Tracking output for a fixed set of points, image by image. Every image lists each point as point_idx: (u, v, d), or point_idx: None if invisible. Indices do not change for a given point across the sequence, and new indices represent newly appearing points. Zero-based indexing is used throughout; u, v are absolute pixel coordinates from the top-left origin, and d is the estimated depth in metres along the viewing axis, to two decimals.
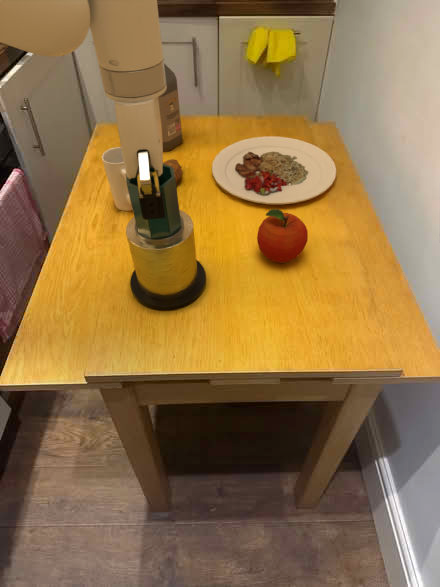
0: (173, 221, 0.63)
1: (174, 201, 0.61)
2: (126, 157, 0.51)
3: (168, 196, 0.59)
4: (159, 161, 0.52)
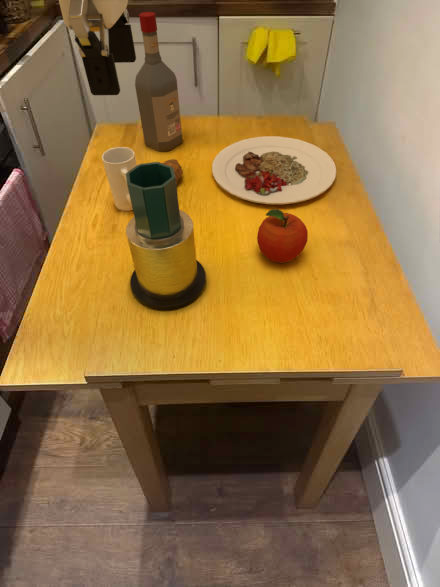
0: (173, 221, 0.63)
1: (174, 201, 0.61)
2: None
3: (168, 196, 0.59)
4: (104, 0, 0.39)
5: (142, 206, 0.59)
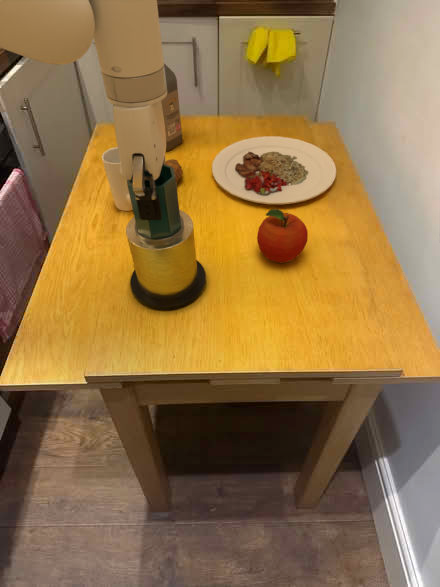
0: (173, 221, 0.63)
1: (174, 201, 0.61)
2: (122, 160, 0.52)
3: (168, 196, 0.59)
4: (154, 165, 0.53)
5: None
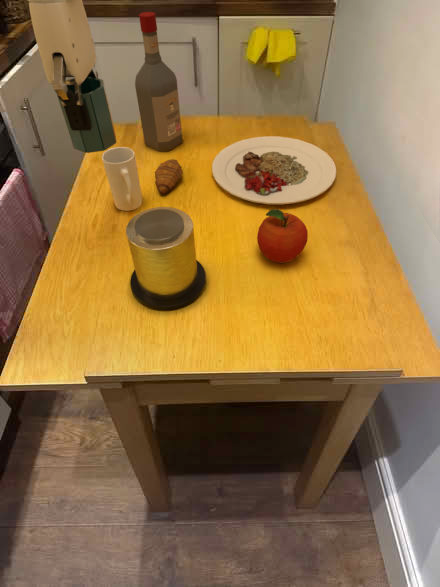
0: (106, 135, 0.66)
1: (105, 113, 0.64)
2: (44, 60, 0.55)
3: (97, 106, 0.62)
4: (75, 67, 0.55)
5: None
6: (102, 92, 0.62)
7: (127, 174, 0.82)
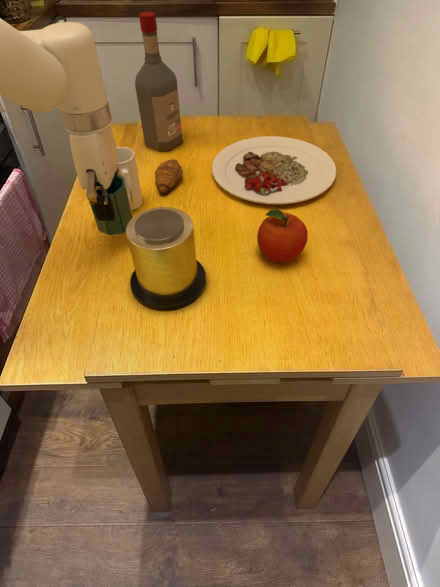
0: (126, 221, 0.78)
1: (126, 205, 0.76)
2: (79, 174, 0.68)
3: (120, 201, 0.75)
4: (104, 178, 0.68)
5: None
6: (124, 190, 0.74)
7: (127, 174, 0.82)
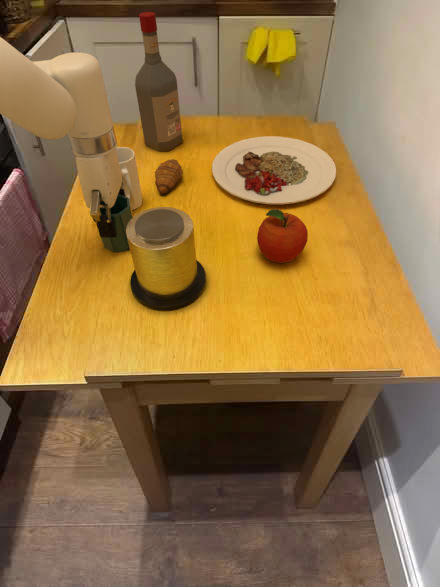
0: None
1: None
2: (84, 194, 0.70)
3: (125, 220, 0.78)
4: (108, 198, 0.71)
5: None
6: (129, 210, 0.78)
7: (127, 174, 0.82)
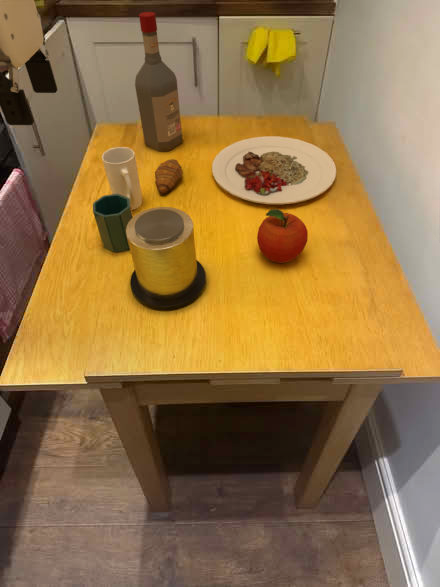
0: None
1: None
2: None
3: (125, 220, 0.78)
4: (10, 44, 0.44)
5: (105, 228, 0.78)
6: (129, 210, 0.78)
7: (127, 174, 0.82)
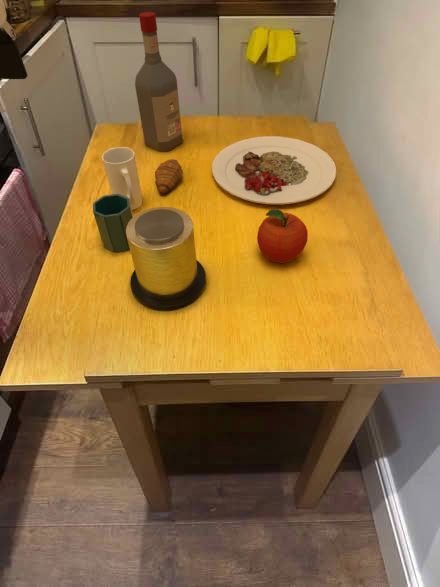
0: None
1: None
2: None
3: (125, 220, 0.78)
4: None
5: (105, 228, 0.78)
6: (129, 210, 0.78)
7: (127, 174, 0.82)
